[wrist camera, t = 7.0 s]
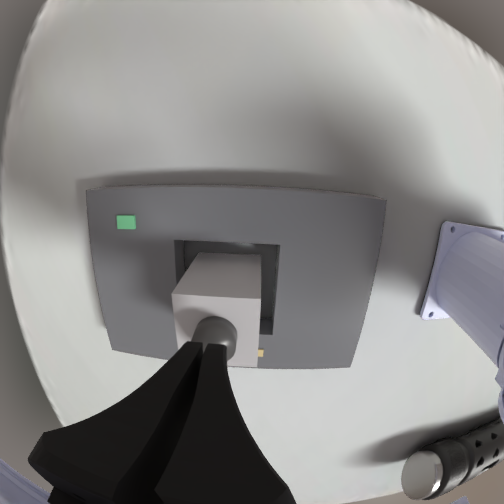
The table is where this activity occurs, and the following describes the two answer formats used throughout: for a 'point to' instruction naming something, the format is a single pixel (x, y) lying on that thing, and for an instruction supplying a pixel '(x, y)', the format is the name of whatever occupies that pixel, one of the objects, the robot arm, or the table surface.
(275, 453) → the table surface
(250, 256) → the charger plug
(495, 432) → the muzzle brake
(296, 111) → the table surface
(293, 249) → the charging plate
